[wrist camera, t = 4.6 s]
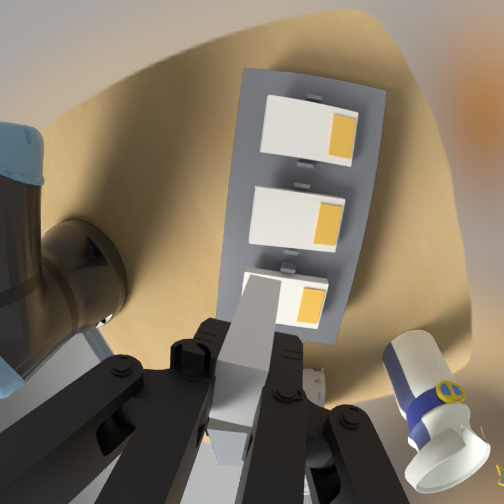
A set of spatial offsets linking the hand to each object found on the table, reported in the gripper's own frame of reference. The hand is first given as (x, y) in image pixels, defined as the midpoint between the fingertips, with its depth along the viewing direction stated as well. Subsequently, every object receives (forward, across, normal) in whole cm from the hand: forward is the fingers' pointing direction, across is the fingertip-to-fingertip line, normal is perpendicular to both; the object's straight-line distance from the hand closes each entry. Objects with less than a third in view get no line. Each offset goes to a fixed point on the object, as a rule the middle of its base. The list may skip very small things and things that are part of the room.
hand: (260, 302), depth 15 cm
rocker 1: (+11, +1, +9) cm, 14 cm away
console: (+18, +1, +2) cm, 18 cm away
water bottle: (+18, +20, -13) cm, 30 cm away
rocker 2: (+11, +1, +2) cm, 11 cm away
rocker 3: (+11, +2, -5) cm, 12 cm away
